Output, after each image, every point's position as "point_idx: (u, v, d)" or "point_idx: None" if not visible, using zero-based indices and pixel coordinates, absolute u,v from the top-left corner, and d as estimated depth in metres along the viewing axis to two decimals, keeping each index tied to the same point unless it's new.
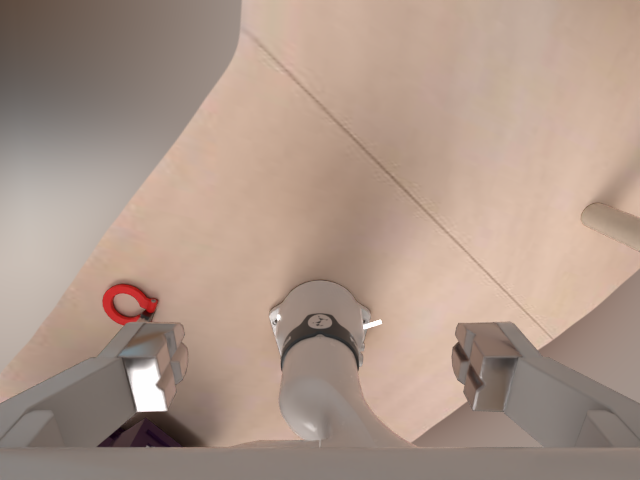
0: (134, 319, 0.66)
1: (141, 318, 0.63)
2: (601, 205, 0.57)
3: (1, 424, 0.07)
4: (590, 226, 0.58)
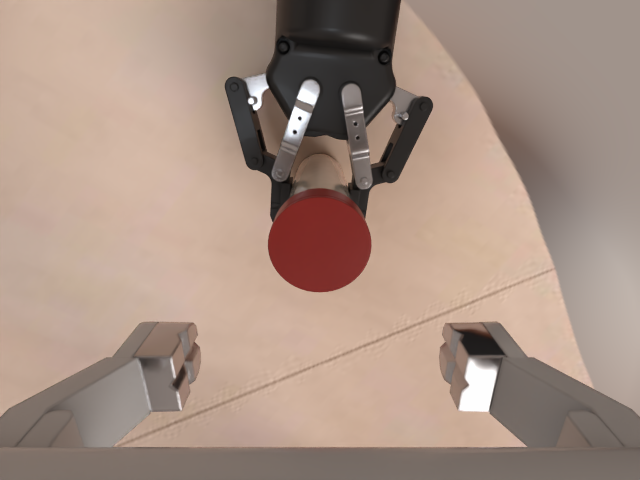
0: None
1: None
2: None
3: (21, 424, 0.07)
4: None
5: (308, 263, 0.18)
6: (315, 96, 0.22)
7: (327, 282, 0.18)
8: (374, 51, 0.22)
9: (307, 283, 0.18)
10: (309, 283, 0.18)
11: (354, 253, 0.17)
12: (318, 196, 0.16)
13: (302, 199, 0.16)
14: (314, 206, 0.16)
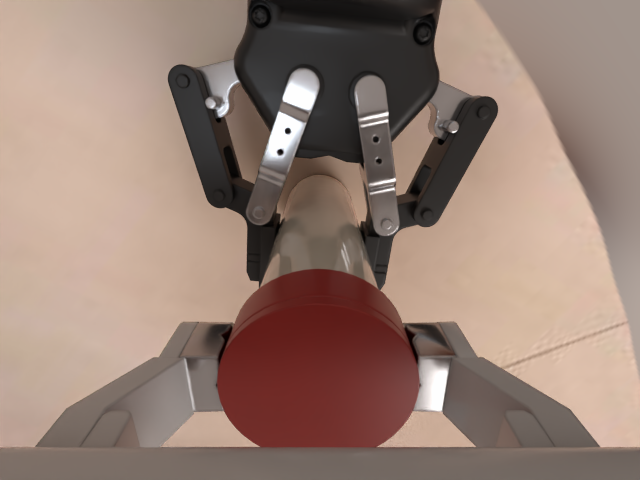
0: None
1: None
2: None
3: (81, 424, 0.07)
4: None
5: (296, 417, 0.09)
6: (312, 96, 0.14)
7: (333, 446, 0.09)
8: (408, 22, 0.13)
9: None
10: None
11: (386, 401, 0.09)
12: (315, 300, 0.08)
13: (282, 306, 0.08)
14: (307, 320, 0.08)
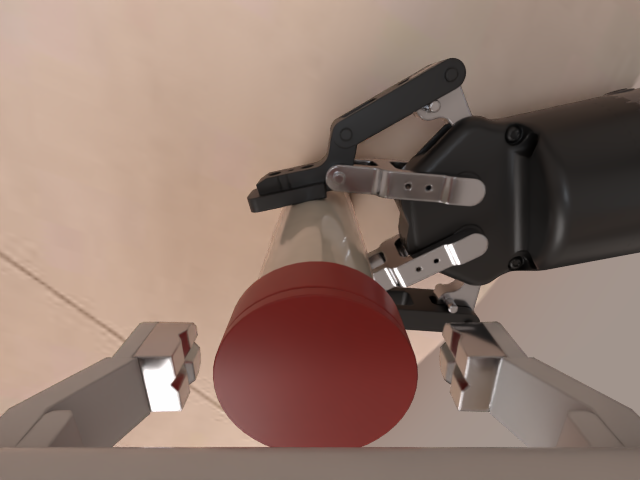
0: None
1: None
2: None
3: (21, 424, 0.07)
4: None
5: (305, 414, 0.09)
6: (463, 202, 0.15)
7: (352, 434, 0.09)
8: (523, 251, 0.17)
9: (317, 444, 0.09)
10: (320, 443, 0.09)
11: (386, 376, 0.09)
12: (277, 297, 0.08)
13: (249, 312, 0.08)
14: (276, 319, 0.08)
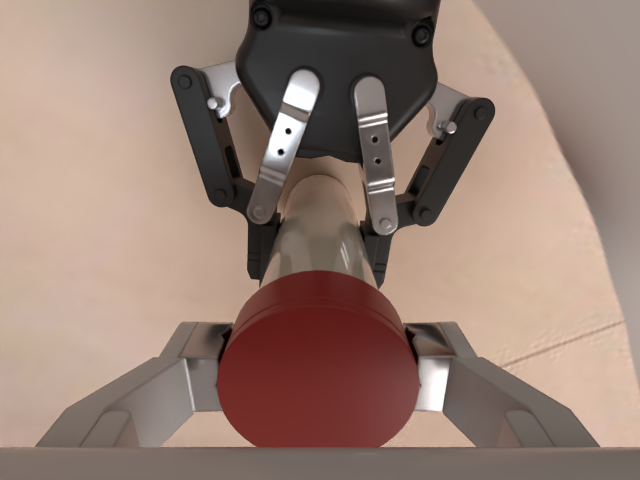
0: None
1: None
2: None
3: (81, 424, 0.07)
4: None
5: (352, 409, 0.09)
6: (312, 97, 0.14)
7: (397, 380, 0.09)
8: (406, 25, 0.14)
9: (396, 411, 0.09)
10: (397, 407, 0.09)
11: (331, 335, 0.08)
12: None
13: None
14: (236, 400, 0.09)
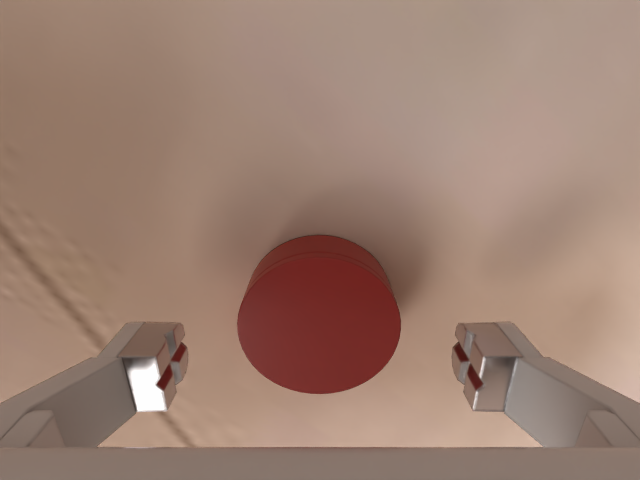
0: None
1: None
2: None
3: (1, 424, 0.07)
4: None
5: (346, 346, 0.11)
6: None
7: (382, 320, 0.11)
8: None
9: (382, 347, 0.11)
10: (382, 345, 0.11)
11: (329, 282, 0.10)
12: (238, 331, 0.11)
13: (245, 351, 0.11)
14: (252, 338, 0.11)
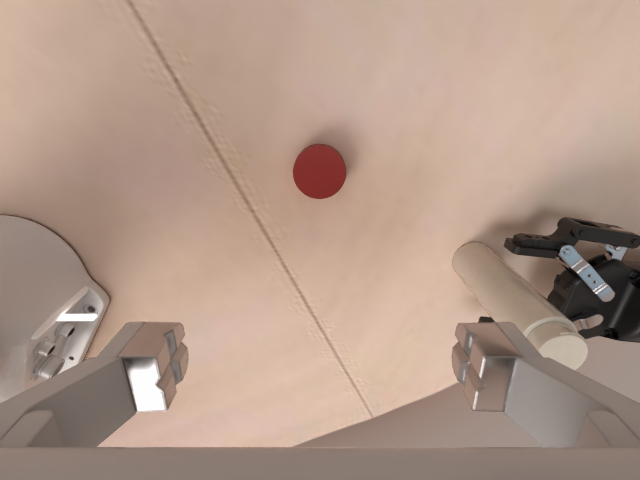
0: None
1: None
2: (483, 246, 0.37)
3: (1, 424, 0.07)
4: (459, 273, 0.37)
5: (328, 178, 0.34)
6: (601, 297, 0.31)
7: (339, 168, 0.33)
8: (611, 328, 0.34)
9: (340, 179, 0.34)
10: (340, 178, 0.34)
11: (322, 155, 0.33)
12: (293, 173, 0.34)
13: (295, 181, 0.34)
14: (297, 175, 0.34)
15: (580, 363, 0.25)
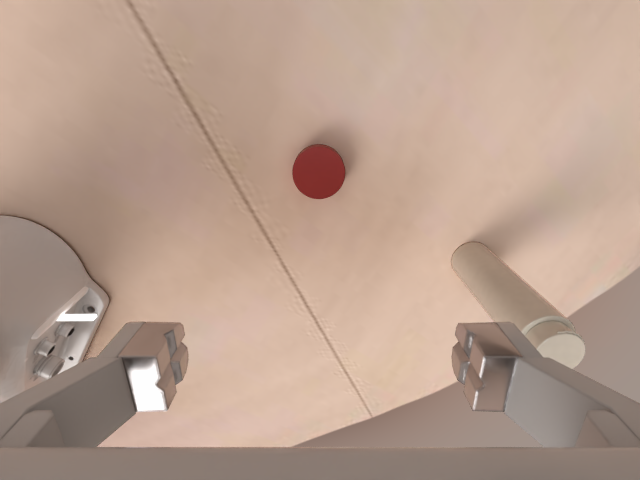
0: None
1: None
2: (482, 246, 0.37)
3: (1, 424, 0.07)
4: (458, 273, 0.38)
5: (327, 179, 0.34)
6: None
7: (339, 169, 0.34)
8: None
9: (339, 179, 0.34)
10: (339, 178, 0.34)
11: (322, 155, 0.33)
12: None
13: (294, 181, 0.34)
14: (297, 176, 0.34)
15: (578, 362, 0.25)
